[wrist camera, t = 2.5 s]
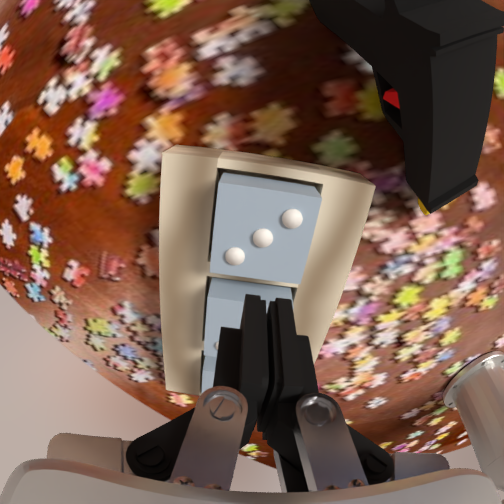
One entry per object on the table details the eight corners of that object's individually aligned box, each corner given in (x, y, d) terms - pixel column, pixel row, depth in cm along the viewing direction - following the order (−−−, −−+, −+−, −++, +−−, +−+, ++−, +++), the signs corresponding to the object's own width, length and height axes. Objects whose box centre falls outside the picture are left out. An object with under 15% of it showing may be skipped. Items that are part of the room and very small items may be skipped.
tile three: (314, 186, 19) (322, 199, 17) (296, 265, 22) (300, 286, 20) (223, 172, 19) (218, 183, 17) (214, 254, 22) (209, 273, 20)
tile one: (271, 357, 27) (272, 380, 24) (260, 393, 30) (260, 414, 27) (206, 349, 27) (202, 372, 24) (203, 387, 29) (200, 407, 27)
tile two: (290, 287, 23) (294, 309, 21) (275, 342, 26) (277, 365, 24) (212, 277, 23) (207, 298, 20) (207, 334, 26) (203, 356, 23)
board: (359, 173, 22) (375, 186, 19) (293, 380, 33) (295, 404, 30) (176, 144, 21) (162, 152, 18) (172, 366, 32) (166, 389, 29)
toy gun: (357, 127, 27) (430, 225, 21) (289, -36, 12) (436, 16, 6) (396, 106, 26) (475, 197, 20) (351, -56, 11) (509, -1, 5)
